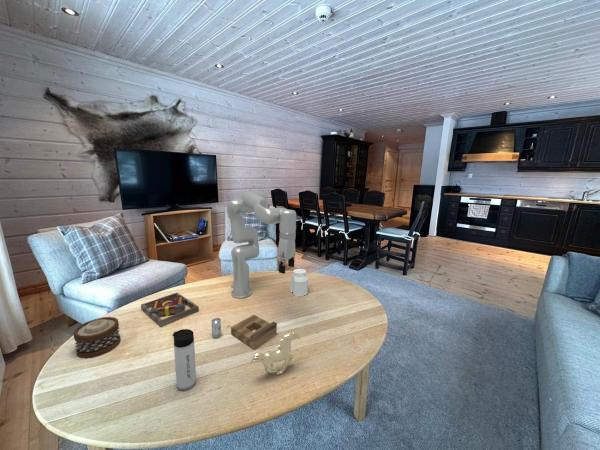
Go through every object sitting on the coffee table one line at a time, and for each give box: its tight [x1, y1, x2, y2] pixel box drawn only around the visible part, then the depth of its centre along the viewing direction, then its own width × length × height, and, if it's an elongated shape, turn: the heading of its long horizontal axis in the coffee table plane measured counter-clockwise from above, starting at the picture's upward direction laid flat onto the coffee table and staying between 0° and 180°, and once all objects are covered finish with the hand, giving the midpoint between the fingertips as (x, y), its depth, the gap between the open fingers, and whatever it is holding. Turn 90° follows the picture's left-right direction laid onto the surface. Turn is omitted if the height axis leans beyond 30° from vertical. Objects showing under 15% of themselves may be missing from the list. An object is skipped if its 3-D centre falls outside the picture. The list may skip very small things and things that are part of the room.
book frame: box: [140, 292, 200, 328], centre depth 132 cm, size 24×19×3 cm
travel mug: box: [171, 328, 197, 392], centre depth 84 cm, size 6×7×20 cm
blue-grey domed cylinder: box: [211, 317, 222, 340], centre depth 111 cm, size 4×4×8 cm
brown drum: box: [73, 316, 122, 359], centre depth 102 cm, size 15×11×15 cm
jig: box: [230, 314, 278, 350], centre depth 113 cm, size 16×14×6 cm
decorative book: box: [150, 296, 187, 318], centre depth 131 cm, size 11×16×5 cm
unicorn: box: [249, 326, 301, 376], centre depth 90 cm, size 20×4×17 cm, turn 119°
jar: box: [290, 268, 309, 297], centre depth 157 cm, size 12×10×15 cm
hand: (286, 269), depth 119 cm, fingers open, 9 cm apart
